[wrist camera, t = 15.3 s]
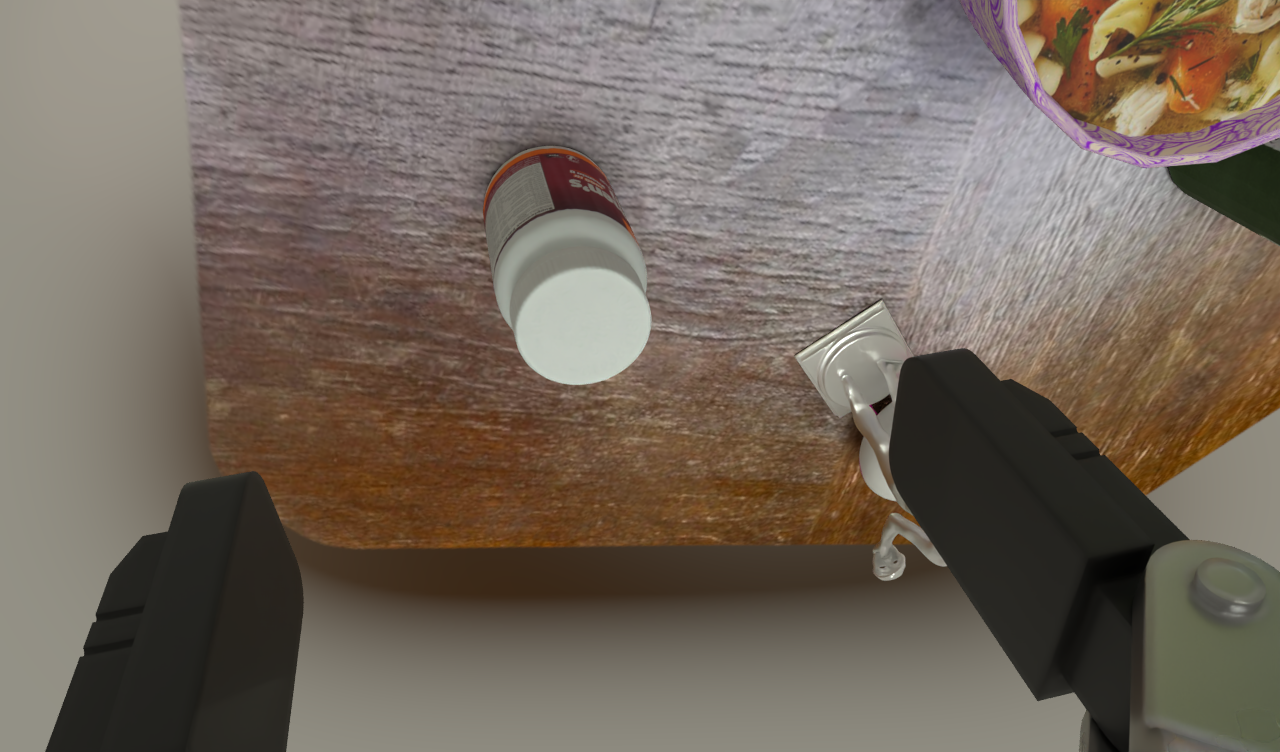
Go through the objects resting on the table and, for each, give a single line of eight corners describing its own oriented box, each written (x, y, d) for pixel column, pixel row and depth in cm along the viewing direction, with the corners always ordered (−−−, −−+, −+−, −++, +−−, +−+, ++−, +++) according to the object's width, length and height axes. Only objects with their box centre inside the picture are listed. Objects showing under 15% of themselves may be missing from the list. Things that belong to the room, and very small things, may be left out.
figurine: (796, 439, 53) (939, 690, 39) (759, 361, 49) (903, 609, 35) (921, 377, 53) (1114, 610, 38) (894, 292, 48) (1098, 517, 34)
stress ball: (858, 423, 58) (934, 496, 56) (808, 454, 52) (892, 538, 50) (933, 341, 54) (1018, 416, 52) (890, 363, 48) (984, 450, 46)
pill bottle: (637, 199, 42) (700, 319, 33) (549, 286, 44) (586, 423, 35) (544, 113, 39) (585, 220, 30) (453, 210, 40) (466, 340, 31)
